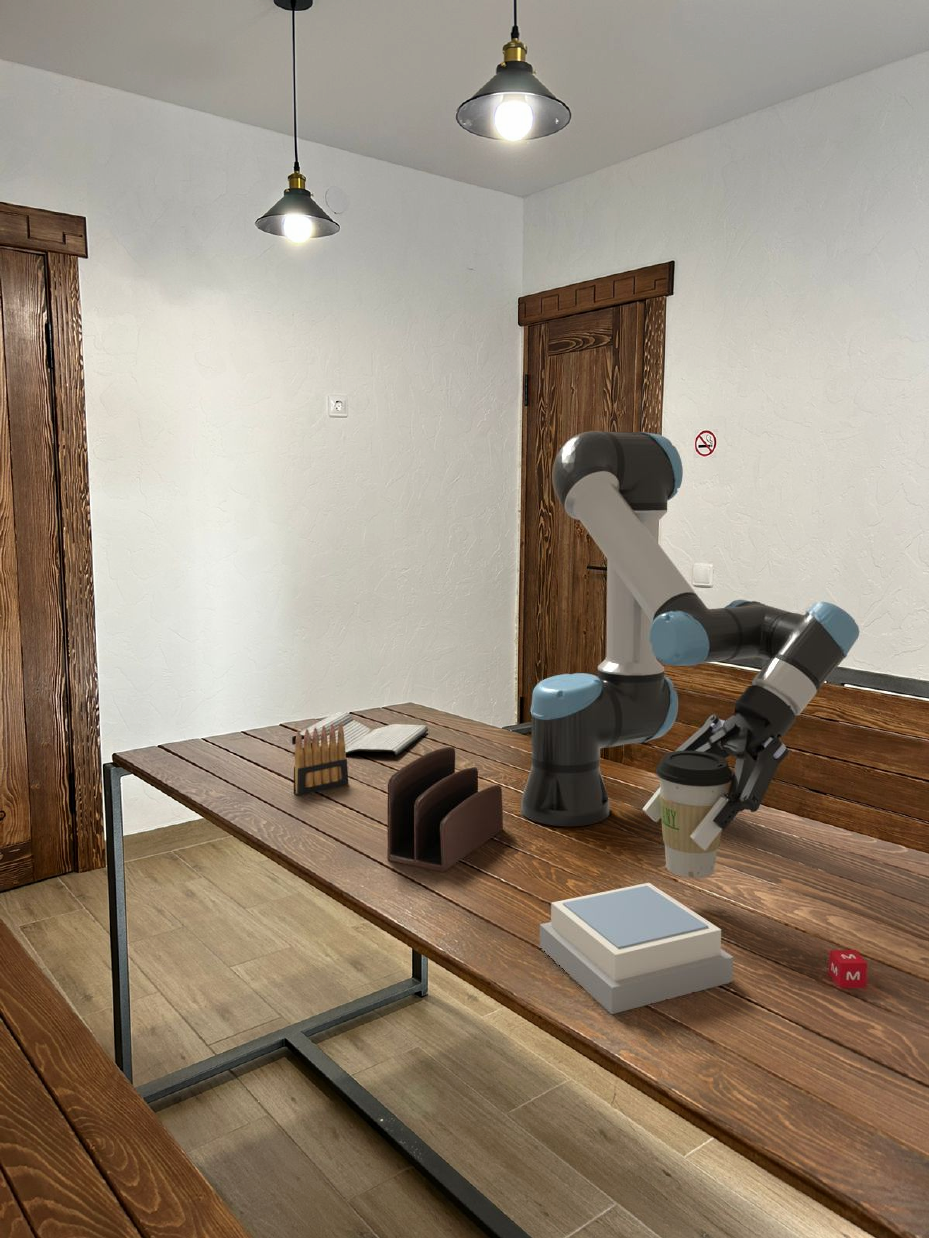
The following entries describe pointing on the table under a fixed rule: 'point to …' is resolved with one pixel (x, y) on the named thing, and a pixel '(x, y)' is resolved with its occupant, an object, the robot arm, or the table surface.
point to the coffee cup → (690, 807)
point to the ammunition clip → (320, 762)
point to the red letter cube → (847, 968)
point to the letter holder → (439, 812)
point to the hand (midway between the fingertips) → (672, 829)
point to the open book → (375, 741)
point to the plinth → (637, 984)
